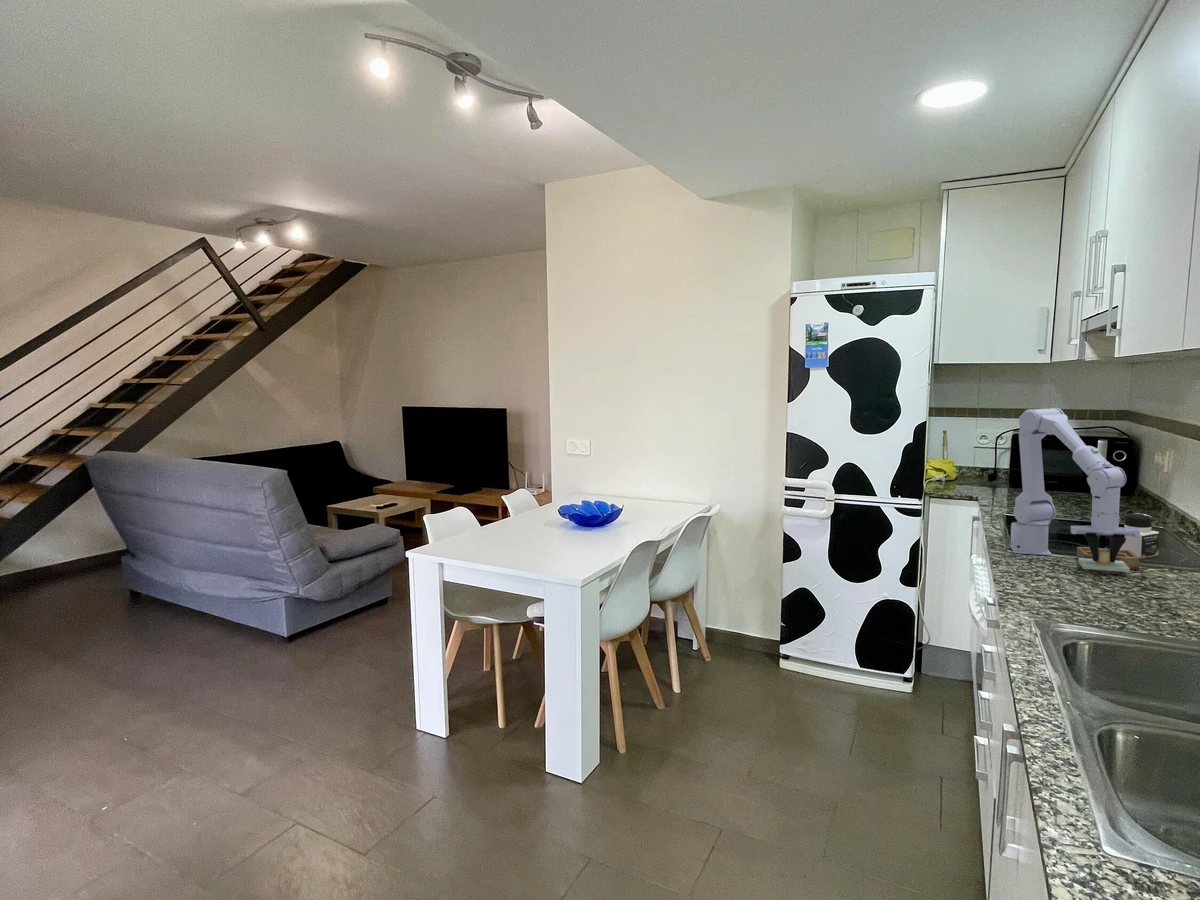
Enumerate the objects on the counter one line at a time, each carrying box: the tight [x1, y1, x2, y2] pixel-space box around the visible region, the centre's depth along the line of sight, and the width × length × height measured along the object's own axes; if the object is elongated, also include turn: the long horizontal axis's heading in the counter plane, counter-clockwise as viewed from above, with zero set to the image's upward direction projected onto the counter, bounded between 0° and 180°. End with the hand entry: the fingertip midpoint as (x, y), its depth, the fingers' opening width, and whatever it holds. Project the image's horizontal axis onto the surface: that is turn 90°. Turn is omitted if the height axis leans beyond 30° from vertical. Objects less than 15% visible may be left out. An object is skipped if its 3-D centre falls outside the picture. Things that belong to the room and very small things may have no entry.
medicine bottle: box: [1120, 512, 1160, 559], centre depth 183 cm, size 7×7×12 cm
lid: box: [1077, 548, 1131, 573], centre depth 169 cm, size 10×7×4 cm
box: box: [1076, 546, 1141, 571], centre depth 176 cm, size 12×9×3 cm
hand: (1103, 561), depth 169 cm, fingers closed on lid, 3 cm apart
